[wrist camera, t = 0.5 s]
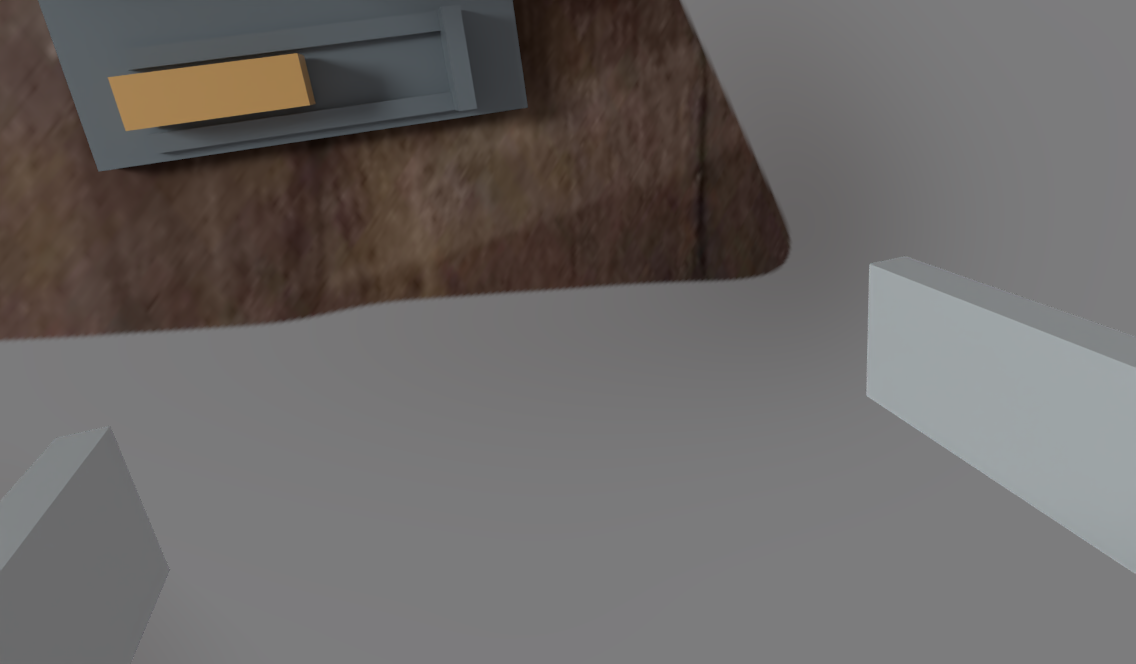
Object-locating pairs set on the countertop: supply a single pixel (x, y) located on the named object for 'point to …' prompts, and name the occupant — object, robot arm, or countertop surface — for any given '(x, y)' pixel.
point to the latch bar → (212, 91)
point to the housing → (279, 27)
